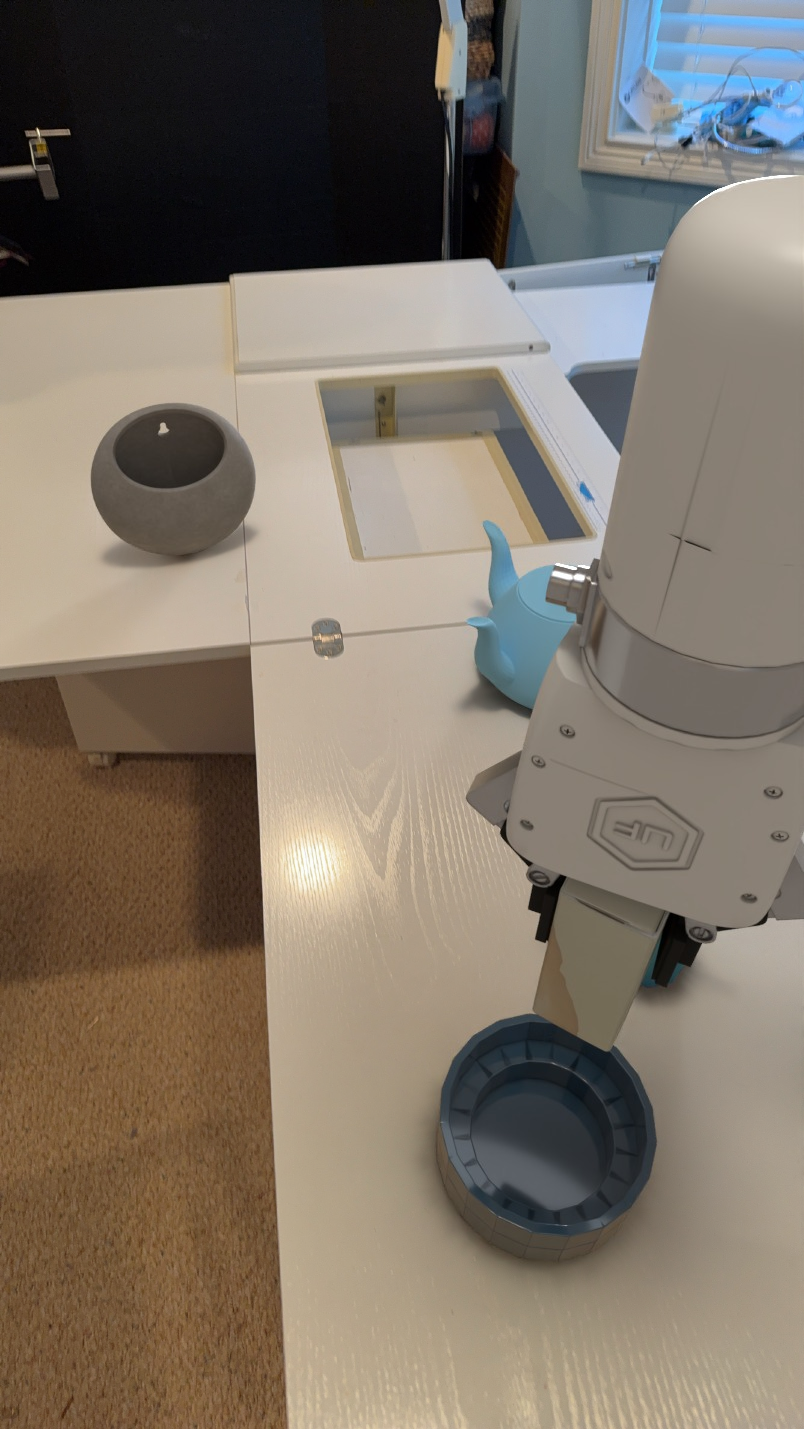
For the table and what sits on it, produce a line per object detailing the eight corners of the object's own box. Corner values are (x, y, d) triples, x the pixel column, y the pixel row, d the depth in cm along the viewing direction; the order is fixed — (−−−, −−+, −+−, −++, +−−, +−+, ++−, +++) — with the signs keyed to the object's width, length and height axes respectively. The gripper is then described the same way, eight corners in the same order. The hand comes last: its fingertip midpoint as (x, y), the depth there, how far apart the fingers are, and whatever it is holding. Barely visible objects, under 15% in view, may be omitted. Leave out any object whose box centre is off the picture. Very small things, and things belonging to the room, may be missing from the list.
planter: (115, 583, 102) (74, 433, 89) (108, 550, 107) (68, 403, 94) (270, 553, 107) (253, 406, 94) (256, 522, 112) (238, 378, 99)
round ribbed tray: (654, 1097, 61) (674, 1059, 57) (610, 1303, 52) (629, 1278, 48) (475, 1025, 64) (481, 985, 60) (406, 1208, 56) (407, 1176, 52)
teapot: (457, 722, 87) (464, 625, 78) (476, 607, 100) (484, 513, 91) (633, 743, 85) (661, 646, 76) (629, 623, 98) (652, 529, 89)
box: (569, 936, 47) (605, 805, 39) (646, 974, 46) (699, 846, 38) (527, 1016, 44) (557, 890, 36) (608, 1060, 42) (657, 938, 35)
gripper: (414, 635, 28) (407, 939, 41) (1008, 800, 23) (787, 1084, 36) (491, 516, 33) (463, 821, 46) (994, 634, 28) (804, 936, 41)
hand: (607, 935), depth 41 cm, fingers closed on box, 4 cm apart
